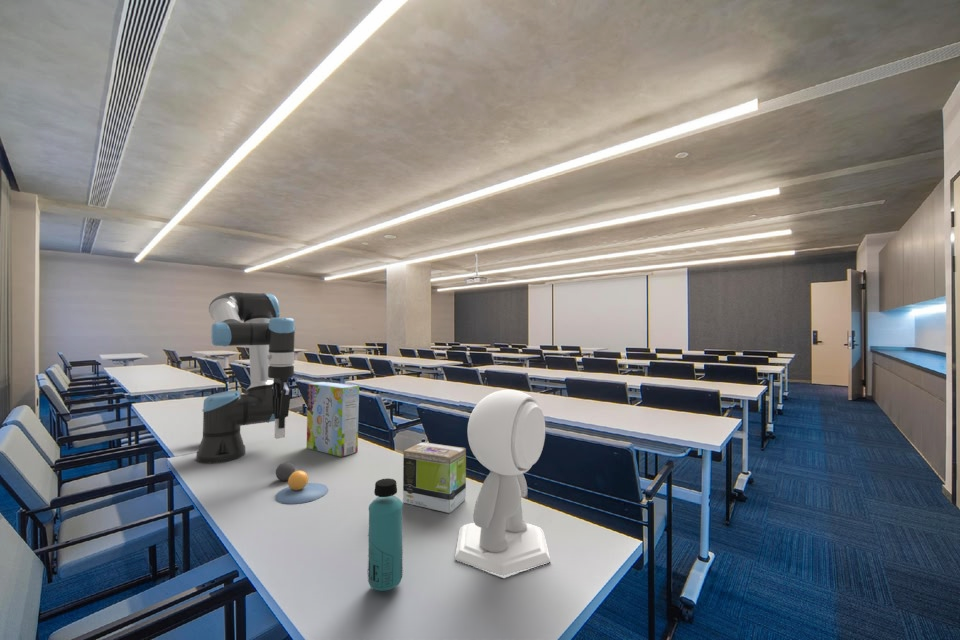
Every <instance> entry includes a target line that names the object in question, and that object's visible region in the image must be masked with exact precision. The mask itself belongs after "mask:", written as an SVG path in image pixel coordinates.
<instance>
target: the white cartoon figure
mask: <svg viewBox="0 0 960 640" xmlns="http://www.w3.org/2000/svg"><path fill="white" fill-rule="evenodd" d="M466 429H467V433H466V434H467V440H468V444H469V447H470V450H471V452H472V454H473V456H474V457H475V458H476V460H477V461H478V462H479V463H480V464H481V465H482V466H483V467H484V468H486V469H488V470H489V473H488V475H487V476H486V478H485V479H484V481H483V482H482V486H481V488H480V490H479V493H478V496H477V498H476V500H475V505H474V507H473V508H474V509H473V513H472V514H473V515H472V516H473V522H470V523H467V524H463V525H462V526H461V527H460V528H459V531H458V537H457V543H456V550H455V554H454V555H455V556H454V560H455V561H456V560H457V562H459V561H460V562H459V563H461V562H463V563H462V564H464V563H465V564H464V565H466V564H468V565H467V566H469V565H472V566H474V567H478V568H480V569H484V570H487V571H489V572H493V573H496V574H499V575H503V576H504V575H507V574H510V573H513V572H517V571H520V570H524V569H528V568H531V567H535V566H538V565H541V564H544V563H548V562H550V563H551V557H550V553H549V552H550V551H549V549H548V548H549V547H548V545H547V540H546V536H545V532H544V530H543V529H542V528H541V527H540V526H537V525H534V524H531V523H528V522H525V520H523V519H524V518H523V508H522V497H527V494H528V485H527V480H526V478H525V475H524V474H526V473H527V472H529V470H530V469H531V468H532V466H533V465H535V464H536V463H537V462H538V461H539V459H540V457H541V454H542V451H543V448H544V446H545V441H546V440H545V439H546V419H545V415H544V413H543V411H542V409H541V407H540V406H539V403H538V402H537V400H536V399H535V398H534V397H533V396H532V395H530V394H528V393H526V392H523V391H520V390H516V389H500V390H496V391H494V392H492V393H491V392H490V393H489V394H487V395H486V396H484V397H483V398H482V399H481V400H479V402H477V404H476V405H475V406H474V408H473V410H472V411H471V413H470V416H469V419H468V423H467V428H466ZM474 567H473V568H474Z"/></svg>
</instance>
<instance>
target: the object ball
mask: <svg viewBox="0 0 960 640" xmlns="http://www.w3.org/2000/svg"><path fill="white" fill-rule="evenodd" d="M307 483H309V475H308V474H307V472H305V471H304V470H295V472H293V473H292V474H291V475H290V477H289V479H288V480H287V485H288V487H290V488H291V489H292V490H296V491H297V490H301V489H303V488H304V487H305V486H306V485H307Z"/></svg>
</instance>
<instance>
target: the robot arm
mask: <svg viewBox="0 0 960 640" xmlns="http://www.w3.org/2000/svg"><path fill="white" fill-rule="evenodd" d="M279 303H280V302H279V300H278V298H277V297H276V295H274V294H272V293H264V292H262V293H261V292H260V293H259V292H258V293H257V292H242V291H241V292H240V291H239V292H237V291H232V292H226V293H223V294H220V295H218V296H216V297H215V298H214V299H212V300H211V302H210V303H209V306H208V313H209V315H210V317H211V319H213V320H214V322H215V323H212V325H211V330H210V331H211V332H210V335H211V344H212V346H215V347H216V346H217V347H218V346H219V347H221V346H222V347H236V346H237V347H238V346H249V350H248V351H249V372H250V373H249V374H250V386H248V387H247V388H246V393H242V392H241V390H227V391H222V392H217V393H213V394H210V395H208V396H206V397H205V399H204V400H203V407H202V412H203V417H202V418H203V419H202V437H201V441H200V444H199V447H198V450H197V452H196V456H195V457H196V459H195V461H197V462H198V463H201V464H216V463H217V464H218V463H225V462H230V461H233V460H236V459H237V460H238V459H239V458H241V456H242V457H243V456H244V455H246V445H245V444H244V440H243V437H242V434H241V426H250V425H256V424H264V423H265V424H266V423H269V424H270V423H272V422H274V439H276V440H277V439H282V438H286V418H287V417H289V411H290V403H291V396H292V395H291V394H292V391H293V389H292V388H290V383H289V378H293V377H294V373H295V366H294V365H293V364H295V334H296V332H295V330H296V326H295V324H296V323H295V319H294V317H293V318H292V317H281V315H280V314H281V313H280V310H281V309H280V305H279Z"/></svg>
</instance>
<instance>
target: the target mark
mask: <svg viewBox="0 0 960 640" xmlns="http://www.w3.org/2000/svg"><path fill="white" fill-rule="evenodd" d="M328 492H329V487H328V486H327V485H325V484H323V483H320V482H319V483H318V482H308V483H307V485H306V486H305V487H304V488H303V489H301V490H297V491H296V490H292V489H291V488H290V487H289V486H287V487H285V488H282V489H281V490H279V491H277V493H276V494H275V496H274V498H275V500H276V501H277V502H278V503H280V502H281V504H284V503H285V504H286V505H297V504H299V503H300V504H304V503H305V502H306V503H309V502H313V501H316V500H318V499H321V498H322V497H324V496H325V495H327V494H328ZM300 504H299V505H300Z"/></svg>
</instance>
